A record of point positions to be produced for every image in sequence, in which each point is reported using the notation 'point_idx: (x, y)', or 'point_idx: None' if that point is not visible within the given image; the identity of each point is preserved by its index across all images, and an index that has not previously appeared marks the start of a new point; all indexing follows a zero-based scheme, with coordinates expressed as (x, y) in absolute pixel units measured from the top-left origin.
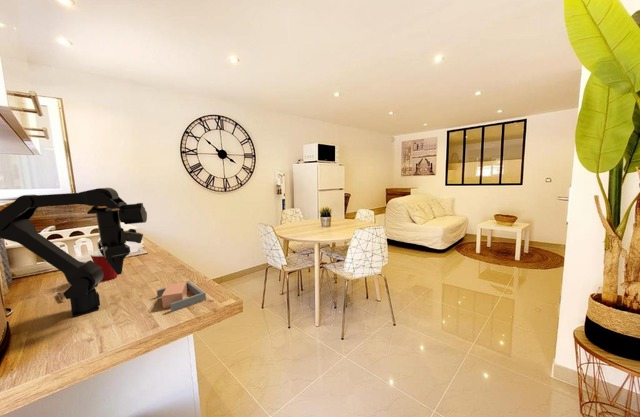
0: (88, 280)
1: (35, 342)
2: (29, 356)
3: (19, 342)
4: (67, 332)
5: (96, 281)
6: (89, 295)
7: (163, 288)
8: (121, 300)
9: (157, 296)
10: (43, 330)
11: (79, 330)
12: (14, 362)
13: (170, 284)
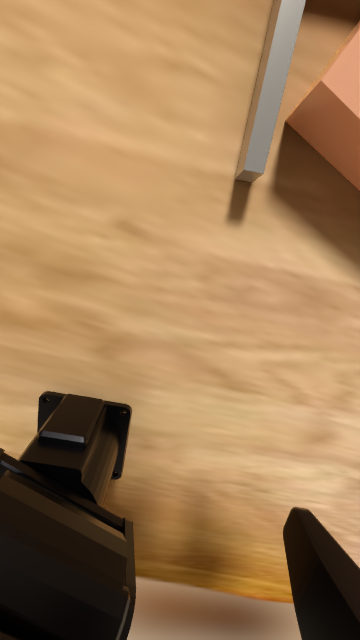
0: (124, 627)
1: (217, 557)
2: None
3: (174, 574)
4: (236, 505)
5: (108, 550)
6: (98, 486)
7: (259, 120)
8: (102, 314)
9: (239, 179)
10: (146, 534)
11: (259, 485)
12: (290, 592)
13: (343, 67)
